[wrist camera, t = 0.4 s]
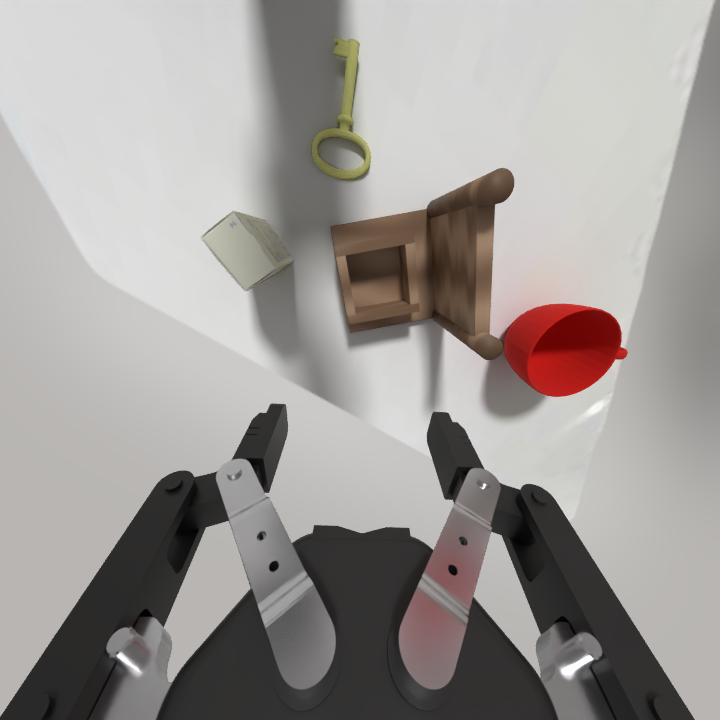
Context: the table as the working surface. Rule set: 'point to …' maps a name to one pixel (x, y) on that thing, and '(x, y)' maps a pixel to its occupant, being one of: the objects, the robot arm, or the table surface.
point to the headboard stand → (426, 264)
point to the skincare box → (247, 248)
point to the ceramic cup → (563, 347)
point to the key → (344, 115)
